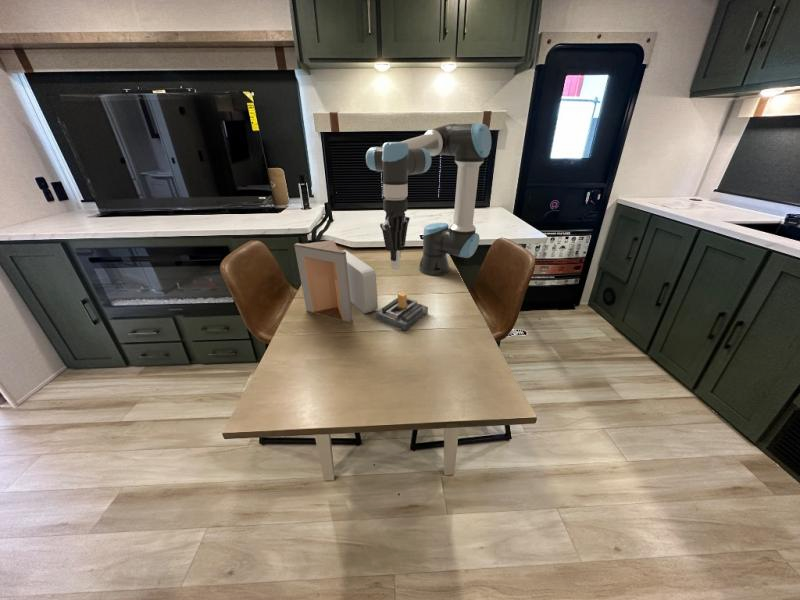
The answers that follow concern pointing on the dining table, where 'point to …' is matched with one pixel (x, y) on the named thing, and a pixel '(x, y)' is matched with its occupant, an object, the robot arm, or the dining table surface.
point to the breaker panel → (395, 316)
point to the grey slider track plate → (407, 315)
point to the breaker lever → (402, 301)
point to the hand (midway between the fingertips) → (395, 268)
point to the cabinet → (325, 279)
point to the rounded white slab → (361, 284)
